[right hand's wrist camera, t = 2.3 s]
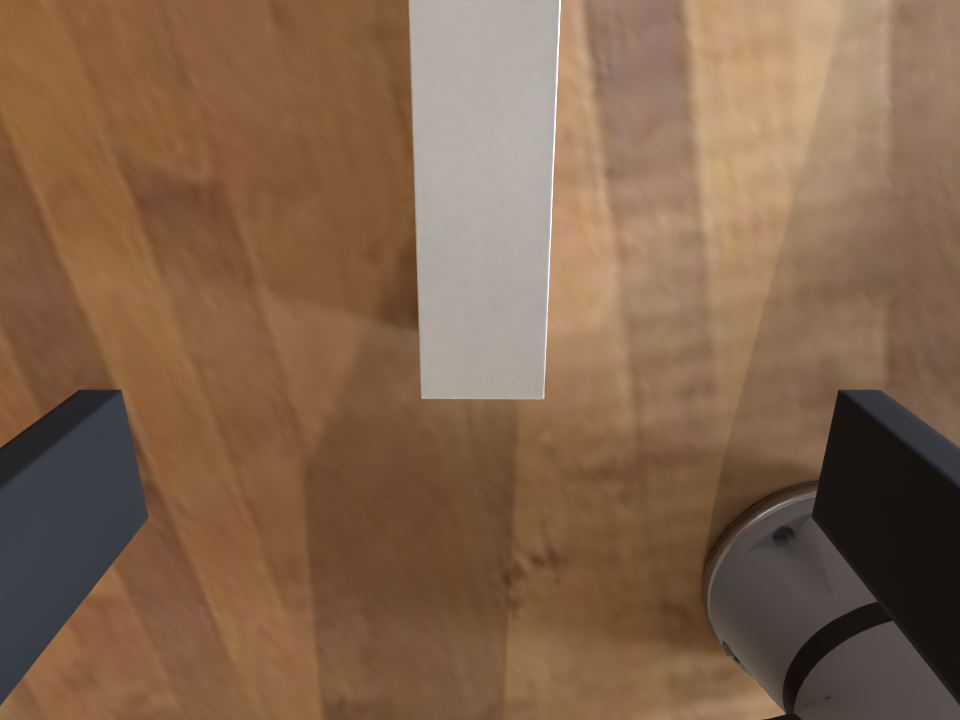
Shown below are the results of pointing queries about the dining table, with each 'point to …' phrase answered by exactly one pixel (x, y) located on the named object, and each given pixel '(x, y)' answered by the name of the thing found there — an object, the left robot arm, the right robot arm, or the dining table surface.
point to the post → (483, 192)
